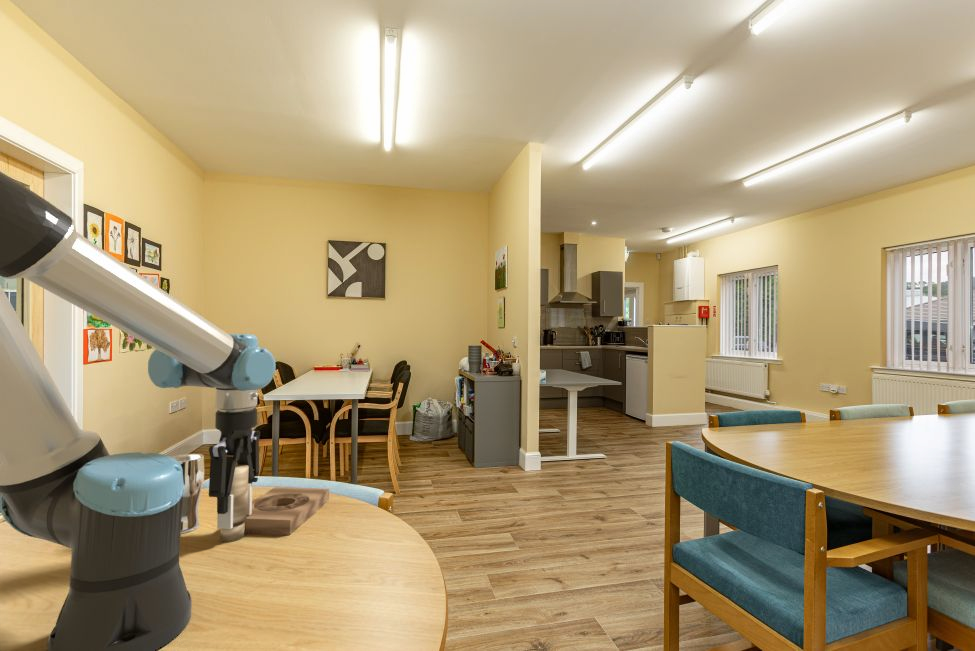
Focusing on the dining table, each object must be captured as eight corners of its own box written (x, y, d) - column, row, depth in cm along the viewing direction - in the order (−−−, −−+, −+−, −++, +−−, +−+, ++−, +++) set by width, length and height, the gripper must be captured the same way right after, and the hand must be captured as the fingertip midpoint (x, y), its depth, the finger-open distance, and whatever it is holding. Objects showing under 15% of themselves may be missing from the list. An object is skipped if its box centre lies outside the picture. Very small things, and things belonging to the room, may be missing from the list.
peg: (236, 542, 88) (239, 471, 88) (213, 541, 88) (216, 470, 88) (250, 532, 92) (253, 465, 93) (228, 531, 92) (231, 464, 93)
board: (290, 534, 92) (290, 520, 92) (224, 532, 92) (225, 517, 92) (328, 500, 112) (329, 488, 112) (275, 498, 112) (275, 486, 112)
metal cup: (187, 536, 90) (190, 462, 91) (153, 535, 90) (157, 461, 91) (209, 522, 97) (212, 453, 98) (178, 521, 97) (181, 453, 98)
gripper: (225, 418, 81) (223, 543, 81) (278, 401, 100) (276, 503, 100) (186, 417, 82) (184, 542, 81) (246, 400, 100) (244, 502, 100)
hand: (235, 520), depth 91 cm, fingers open, 6 cm apart
